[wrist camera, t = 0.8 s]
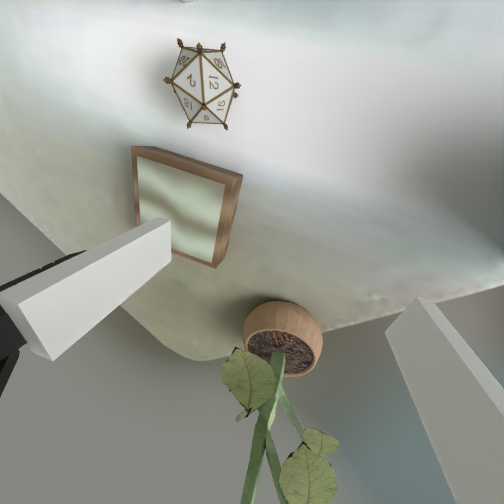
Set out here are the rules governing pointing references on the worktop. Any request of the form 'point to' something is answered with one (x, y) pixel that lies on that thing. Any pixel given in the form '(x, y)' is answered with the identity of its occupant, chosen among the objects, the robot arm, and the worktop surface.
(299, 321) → the potted plant
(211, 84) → the game die
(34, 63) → the worktop surface
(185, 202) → the walnut framed mirror
